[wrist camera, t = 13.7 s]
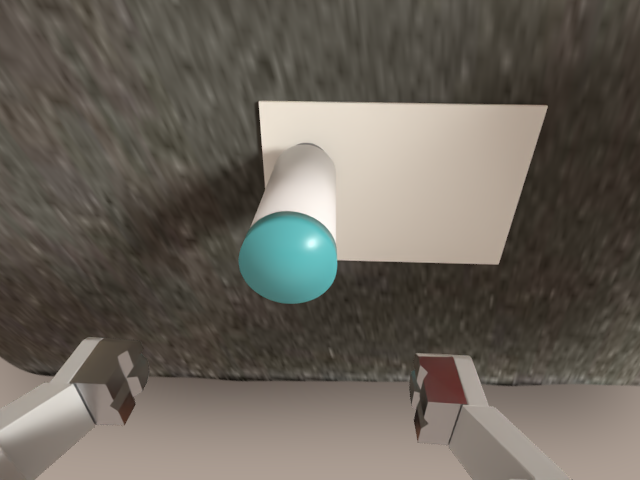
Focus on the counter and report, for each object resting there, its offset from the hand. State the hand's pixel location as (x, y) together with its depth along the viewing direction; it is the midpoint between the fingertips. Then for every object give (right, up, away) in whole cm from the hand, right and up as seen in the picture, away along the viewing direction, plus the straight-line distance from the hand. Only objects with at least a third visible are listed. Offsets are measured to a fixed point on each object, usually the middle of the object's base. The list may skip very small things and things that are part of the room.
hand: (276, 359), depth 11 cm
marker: (0, +9, +15) cm, 17 cm away
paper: (+6, +7, +16) cm, 18 cm away
